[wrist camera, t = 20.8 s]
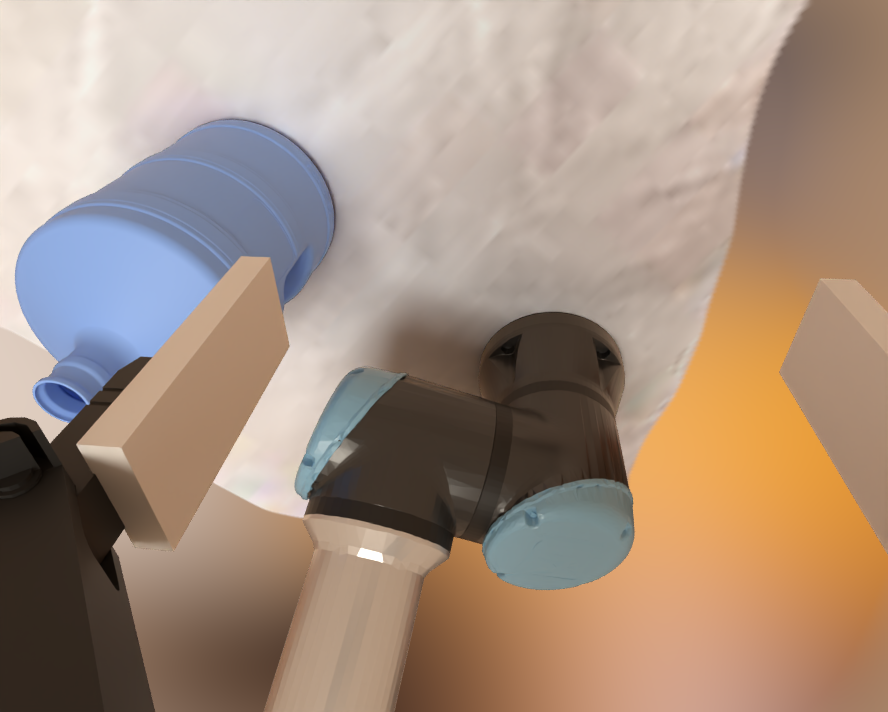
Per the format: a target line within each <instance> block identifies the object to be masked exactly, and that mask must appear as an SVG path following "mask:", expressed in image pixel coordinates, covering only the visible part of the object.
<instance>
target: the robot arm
mask: <svg viewBox="0 0 888 712" xmlns="http://www.w3.org/2000/svg"><path fill="white" fill-rule="evenodd" d="M288 348H289V341H288V336H287V332H286V327H285V323H284V318H283V314H282V309H281V304H280V300H279V295H278V291H277V286H276V281H275V277H274V272H273V268H272V263H271V259H270V257H249V256H241V257H240V258H239V259H238V260H237V261H236V263H235V264H234V265H233V266H232V267H231V268H230V269H229V271H228V272H227V273H226V274H225V275H224V276H223V277H222V279H221V280H220V281H219V282H218V283H217V284H216V285H215V287H214V288H213V289H212V290H211V291H210V292H209V293H208V295H207V296H206V297H205V298H204V299H203V300H202V301H201V303H200V304H199V305H198V306H197V307H196V308H195V309H194V310H193V312H192V313H191V314H190V315H189V316H188V317H187V318H186V320H185V321H184V322H183V323H182V324H181V325H180V326H179V328H178V329H177V330H176V331H175V332H174V333H173V334H172V336H171V337H170V338H169V339H168V340H167V341H166V342H165V344H164V345H163V346H162V347H161V348H160V349H159V350H158V352H157V353H156V354H155V355H154V356H153V357H139V358H137V359H136V360H134V361H133V362H131V363H129V364H128V365H126V366H125V367H123V368H121V369H120V370H118V371H117V372H116V373H115V374H114V375H113V377H112V378H111V379H110V380H109V381H108V382H107V383H106V384H105V385H104V386H103V387H102V388H103V390H102V391H99V392H98V393H97V394H96V395H95V396H94V397H93V398H92V399H91V400H90V404H89V405H86V406H85V407H84V408H83V409H82V410H81V411H80V412H79V413H78V414H77V415H76V416H75V417H74V419H73V420H72V421H71V422H70V423H69V424H68V425H67V426H66V427H65V428H64V429H63V430H62V432H61V433H60V434H59V435H58V436H57V437H56V438H55V439H54V440H53V441H52V442H51V443H49V442H48V440H47V438H46V437H45V435H44V433H43V432H42V430H41V429H40V427H39V425H38V424H37V422H36V421H34V420H31V419H28V418H25V417H24V418H6V419H2V420H0V712H155V709H154V705H153V701H152V697H151V692H150V688H149V684H148V680H147V676H146V671H145V667H144V663H143V658H142V654H141V650H140V646H139V642H138V637H137V633H136V629H135V625H134V621H133V616H132V612H131V608H130V603H129V599H128V595H127V591H126V586H125V582H124V578H123V574H122V570H121V565H120V561H119V557H118V555H117V553H116V552H115V550H114V548H113V547H112V546H113V545H114V543H115V542H116V540H117V538H118V537H119V536H120V534H121V533H122V531H123V530H124V529H125V531H126V532H127V535H128V536H129V538H130V540H131V542H132V543H133V545H134V547H135V548H141V549H152V550H163V551H174V550H175V548H176V546H177V545H178V543H179V541H180V539H181V537H182V536H183V534H184V532H185V530H186V529H187V527H188V525H189V523H190V522H191V520H192V518H193V516H194V515H195V513H196V511H197V509H198V507H199V506H200V504H201V502H202V500H203V499H204V497H205V495H206V493H207V492H208V490H209V488H210V486H211V484H212V483H213V481H214V479H215V477H216V476H217V474H218V472H219V470H220V469H221V467H222V465H223V463H224V461H225V460H226V458H227V456H228V454H229V453H230V451H231V449H232V447H233V446H234V444H235V442H236V440H237V438H238V437H239V435H240V433H241V431H242V430H243V428H244V426H245V424H246V422H247V421H248V419H249V417H250V415H251V414H252V412H253V410H254V408H255V407H256V405H257V403H258V401H259V399H260V398H261V396H262V394H263V392H264V391H265V389H266V387H267V385H268V384H269V382H270V380H271V378H272V376H273V375H274V373H275V371H276V369H277V368H278V366H279V364H280V362H281V361H282V359H283V357H284V355H285V353H286V352H287V350H288ZM779 373H780V375H781V376H782V378H783V380H784V381H785V383H786V385H787V386H788V388H789V390H790V391H791V393H792V395H793V396H794V398H795V400H796V401H797V403H798V405H799V406H800V408H801V410H802V411H803V413H804V415H805V416H806V418H807V420H808V421H809V423H810V425H811V427H812V428H813V430H814V431H815V433H816V435H817V437H818V438H819V440H820V442H821V443H822V445H823V447H824V448H825V450H826V451H827V453H828V455H829V457H830V458H831V460H832V462H833V463H834V465H835V467H836V468H837V470H838V472H839V474H840V475H841V477H842V479H843V480H844V482H845V484H846V485H847V487H848V489H849V490H850V492H851V493H852V495H853V497H854V499H855V500H856V502H857V504H858V505H859V507H860V509H861V510H862V512H863V514H864V515H865V517H866V519H867V520H868V522H869V524H870V525H871V527H872V529H873V530H874V532H875V534H876V536H877V537H878V539H879V540H880V542H881V544H882V545H883V547H884V549H885V551H886V552H887V554H888V312H887V311H886V310H885V309H884V308H883V307H882V306H881V305H880V304H879V303H878V302H877V301H876V300H875V299H874V298H873V297H872V296H871V295H870V294H869V293H868V292H867V291H866V290H865V289H864V288H863V287H862V286H861V285H860V284H859V283H858V282H857V281H856V280H849V279H824V278H820V280H819V282H818V285H817V287H816V289H815V292H814V294H813V296H812V298H811V301H810V303H809V305H808V308H807V310H806V312H805V314H804V317H803V319H802V321H801V324H800V326H799V328H798V330H797V333H796V335H795V337H794V340H793V342H792V344H791V347H790V349H789V351H788V353H787V356H786V358H785V360H784V363H783V365H782V367H781V370H780V372H779ZM624 384H625V372H624V366H623V362H622V358H621V354H620V351H619V348H618V346H617V345H616V343H615V341H614V340H613V338H612V337H611V336H610V335H609V334H608V333H607V332H606V331H605V330H604V329H603V328H601V327H600V326H598V325H597V324H595V323H593V322H591V321H589V320H587V319H585V318H582V317H579V316H576V315H571V314H566V313H540V314H534V315H530V316H526V317H523V318H520V319H518V320H516V321H514V322H512V323H510V324H508V325H506V326H505V327H503V328H502V329H501V330H500V331H498V332H497V333H496V334H495V335H494V336H493V337H492V338H491V340H490V341H489V342H488V344H487V345H486V347H485V349H484V351H483V354H482V357H481V361H480V369H479V388H480V393H481V396H482V398H481V397H478V396H474V395H471V394H467V393H464V392H460V391H457V390H454V389H450V388H447V387H444V386H441V385H437V384H434V383H431V382H427V381H424V380H421V379H417V378H414V377H411V376H409V375H408V374H407V373H399V374H398V373H393V372H389V371H385V370H381V369H377V368H372V367H359V368H356V369H354V370H352V371H351V372H349V373H348V374H347V375H346V376H345V377H344V378H343V379H342V381H341V382H340V383H339V385H338V386H337V388H336V389H335V391H334V393H333V394H332V396H331V398H330V400H329V401H328V403H327V405H326V407H325V409H324V411H323V413H322V415H321V417H320V419H319V421H318V423H317V425H316V427H315V429H314V431H313V434H312V436H311V438H310V440H309V443H308V445H307V448H306V454H305V455H304V457H303V460H302V462H301V464H300V466H299V469H298V472H297V475H296V479H295V490H296V493H297V494H299V495H300V496H301V497H302V499H304V500H308V499H310V500H309V503H308V506H307V509H306V512H305V515H304V518H303V523H304V525H305V527H306V529H307V531H308V533H309V535H310V537H311V539H312V541H313V545H314V553H313V556H312V560H311V563H310V566H309V569H308V572H307V576H306V579H305V582H304V585H303V589H302V591H301V595H300V598H299V601H298V604H297V608H296V611H295V614H294V617H293V620H292V624H291V627H290V630H289V633H288V636H287V639H286V642H285V646H284V649H283V652H282V655H281V658H280V662H279V665H278V668H277V671H276V675H275V677H274V681H273V684H272V687H271V690H270V693H269V697H268V700H267V704H266V707H265V710H264V712H394V710H395V706H396V701H397V697H398V692H399V687H400V683H401V679H402V675H403V670H404V665H405V661H406V657H407V652H408V648H409V643H410V639H411V634H412V630H413V626H414V621H415V617H416V612H417V608H418V603H419V599H420V594H421V590H422V585H423V581H424V578H425V577H426V575H427V574H428V573H429V572H430V571H431V570H433V569H434V568H436V567H437V566H438V565H440V564H441V563H443V562H445V561H446V560H447V559H448V558H449V556H450V551H451V546H452V541H453V537H457V538H461V539H465V540H469V541H472V542H476V543H479V544H483V545H482V546H483V548H482V552H483V555H484V557H485V560H486V563H487V565H488V567H489V569H490V570H491V571H492V572H493V573H497V576H498V577H499V578H500V579H502V580H503V581H505V582H507V583H510V584H513V585H515V586H519V587H523V588H528V589H536V590H556V589H565V588H571V587H576V586H579V585H581V584H585V583H589V582H592V581H594V580H597V579H599V578H601V577H602V576H605V575H606V574H608V573H609V572H611V571H612V570H614V569H615V568H616V567H617V566H618V565H619V564H621V562H622V561H623V560H624V559H625V558H626V556H627V555H628V553H629V551H630V549H631V547H632V544H633V540H634V519H633V497H632V494H631V492H630V489H629V486H628V481H627V476H626V471H625V466H624V461H623V456H622V450H621V445H620V440H619V435H618V430H617V426H616V420H615V417H616V414H617V410H618V407H619V403H620V400H621V397H622V393H623V389H624Z"/></svg>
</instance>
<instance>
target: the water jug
mask: <svg viewBox="0 0 888 712" xmlns="http://www.w3.org/2000/svg"><path fill="white" fill-rule="evenodd" d="M333 231H334V210H333V204H332V200H331V196H330V193H329V191H328V188H327V186H326V183H325V181H324V179H323V177H322V176H321V174H320V172H319V171H318V169H317V168H316V166H315V165H314V164H313V162H312V161H311V160H310V159H309V158H308V156H307V155H306V154H305V153H304V152H303V151H302V150H301V149H300V148H299V147H297V146H296V145H295V144H294V143H293V142H291V141H290V140H289V139H287V138H286V137H284V136H283V135H281V134H279V133H278V132H276V131H274V130H272V129H270V128H267V127H265V126H262V125H259V124H256V123H253V122H248V121H243V120H218V121H213V122H209V123H206V124H203V125H201V126H199V127H197V128H195V129H193V130H192V131H190V132H189V133H187V134H185V135H184V136H182V137H181V138H180V139H179V140H178V141H177V142H176V143H175V144H173V145H171V146H170V147H168V148H167V149H165V150H163V151H162V152H159V153H157V154H154V155H152V156H150V157H148V158H146V159H144V160H143V161H141V162H139V163H138V164H136V165H134V166H133V167H131V168H130V169H129V170H128V171H126V172H125V173H124V174H123V175H122V176H121V177H119V178H118V179H116V180H115V181H113V182H111V183H110V184H108V185H107V186H105V187H103V188H102V189H100V190H98V191H97V192H95V193H93V194H90V195H88V196H86V197H84V198H81V199H79V200H77V201H76V202H74V203H72V204H71V205H69V206H67V207H66V208H64V209H62V210H61V211H59V212H58V213H57V214H55V215H54V216H53V217H52V218H50V219H49V220H48V221H47V222H46V223H45V224H44V225H42V226H41V227H39V228H38V229H37V230H36V231H34V232H33V233H32V234H31V235H30V237H29V238H28V239H27V240H26V242H25V243H24V245H23V247H22V249H21V251H20V253H19V256H18V259H17V263H16V269H15V285H16V292H17V296H18V300H19V303H20V306H21V309H22V311H23V314H24V316H25V318H26V320H27V322H28V324H29V326H30V327H31V329H32V330H33V332H34V334H35V335H36V336H37V338H38V339H39V341H40V342H41V343H42V344H43V346H44V347H45V348H46V349H47V350H48V351H49V353H50V354H51V355H52V356H53V357H54V358H55V359H56V360H57V361H58V363H57V364H56V365H55V367H54V369H53V371H52V373H51V374H50V375H49V376H48V377H46V378H42V379H40V380H39V381H38V382H37V383H36V384H35V385H34V387H33V396H34V399H35V401H36V402H37V403H38V405H39V406H40V407H41V408H42V409H43V410H44V411H45V412H47V413H48V414H50V415H51V416H53V417H55V418H57V419H59V420H61V421H64V422H68V423H70V422H71V421H72V420H73V419H74V417H75V416H76V415H77V414H78V413H79V412H80V411H81V410H82V409H83V408H84V407H85V406H86V405H89V404H90V400H91V399H92V398H93V397H94V396H95V395H96V394H97V393H98V392H99V391H102V390H103V388H102V387H103V386H104V385H105V384H106V383H107V382H108V381H109V380H110V379H111V378H112V377H113V375H114V374H115V373H116V372H117V371H118V370H120V369H121V368H123V367H125V366H126V365H128V364H129V363H131V362H133V361H134V360H136V359H137V358H139V357H153V356H154V355H155V354H156V353H157V352H158V350H159V349H160V348H161V347H162V346H163V345H164V344H165V342H166V341H167V340H168V339H169V338H170V337H171V336H172V334H173V333H174V332H175V331H176V330H177V329H178V328H179V326H180V325H181V324H182V323H183V322H184V321H185V320H186V318H187V317H188V316H189V315H190V314H191V313H192V312H193V310H194V309H195V308H196V307H197V306H198V305H199V304H200V303H201V301H202V300H203V299H204V298H205V297H206V296H207V295H208V293H209V292H210V291H211V290H212V289H213V288H214V287H215V285H216V284H217V283H218V282H219V281H220V280H221V279H222V277H223V276H224V275H225V274H226V273H227V272H228V271H229V269H230V268H231V267H232V266H233V265H234V264H235V263H236V261H237V260H238V259H239V258H240V257H241V256H249V257H270V259H271V263H272V268H273V272H274V277H275V281H276V286H277V291H278V295H279V300H280V304H281V309H282V314H283V310H284V304H286V303H287V302H289V301H290V300H291V299H293V298H294V297H295V296H296V295H297V294H298V293H299V292H300V291H301V290H302V288H303V287H304V285H305V284H306V282H307V281H308V279H309V277H310V276H311V274H312V272H313V271H314V270H315V269H316V268H317V267H318V265H319V264H320V263H321V261H322V259H323V258H324V256H325V254H326V253H327V251H328V249H329V246H330V243H331V240H332V237H333Z"/></svg>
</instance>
